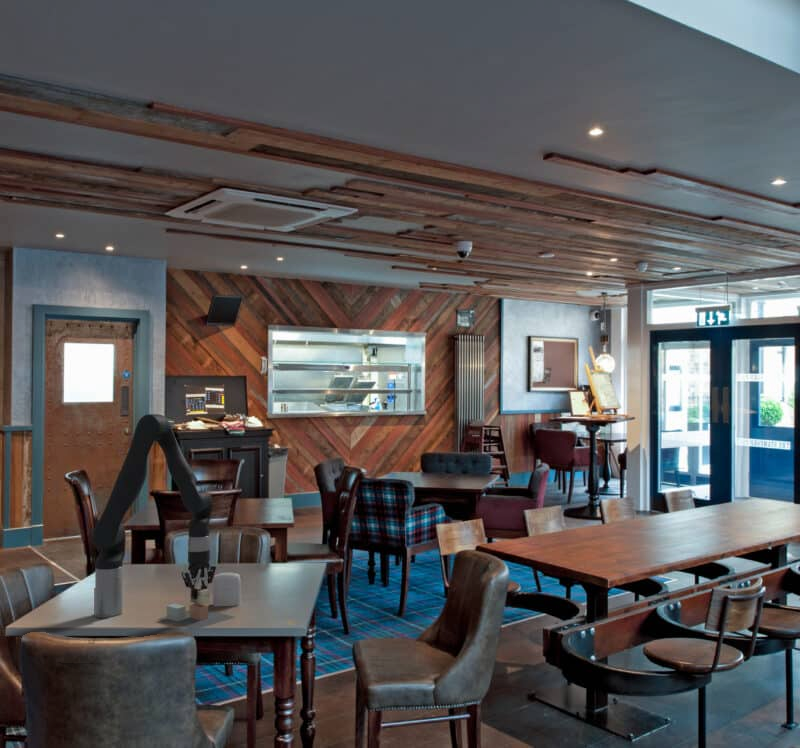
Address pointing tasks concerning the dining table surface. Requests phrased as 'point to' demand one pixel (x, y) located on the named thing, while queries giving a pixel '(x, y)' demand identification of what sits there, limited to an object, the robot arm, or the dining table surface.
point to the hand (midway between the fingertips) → (199, 597)
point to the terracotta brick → (198, 611)
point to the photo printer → (227, 589)
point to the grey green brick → (175, 612)
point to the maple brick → (201, 596)
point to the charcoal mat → (195, 624)
